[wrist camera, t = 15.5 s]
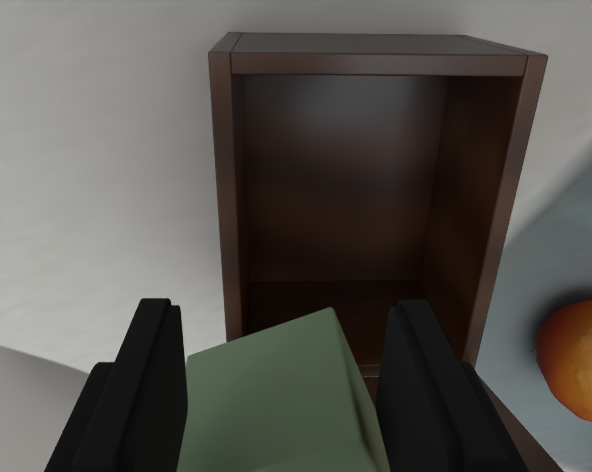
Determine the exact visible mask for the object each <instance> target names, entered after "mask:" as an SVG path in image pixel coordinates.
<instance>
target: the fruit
mask: <svg viewBox="0 0 592 472" xmlns="http://www.w3.org/2000/svg"><path fill="white" fill-rule="evenodd" d="M531 352H533V354H534V356H535V358H536V362H537V363H538V366H539V368H540V370H541V372H542V374H543V376H544V378H545V380H546V382H547V384H548V386H549V389H550V391H551V392H552V394H553V395H554V397H555V398H556V399H557V400H558V401H559V402H560V403H562V404H563V405H564V406H565V407H566V408H568V409H569V410H570V411H572V412H573V413H574V414H575V415H576V416H578V417H579V418H581V419H584V420H587V421H591V422H592V300H585V301H581V302H576V303H572V304H569V305H566V306H564V307H561V308H560V309H558V310H557V311H555V312H554V313H553V314H551V315H550V317H549V318H548V320H547V321H546V322H545V323H544V324H543V325H542V326H541V328H540V329H539V331H538V332H537V337H536V341H535V349H534V351H531Z"/></svg>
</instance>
